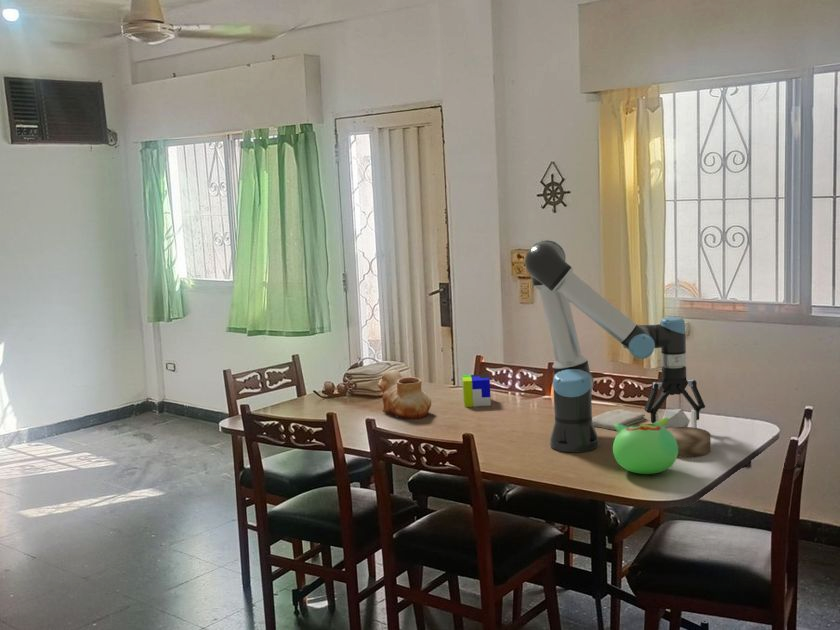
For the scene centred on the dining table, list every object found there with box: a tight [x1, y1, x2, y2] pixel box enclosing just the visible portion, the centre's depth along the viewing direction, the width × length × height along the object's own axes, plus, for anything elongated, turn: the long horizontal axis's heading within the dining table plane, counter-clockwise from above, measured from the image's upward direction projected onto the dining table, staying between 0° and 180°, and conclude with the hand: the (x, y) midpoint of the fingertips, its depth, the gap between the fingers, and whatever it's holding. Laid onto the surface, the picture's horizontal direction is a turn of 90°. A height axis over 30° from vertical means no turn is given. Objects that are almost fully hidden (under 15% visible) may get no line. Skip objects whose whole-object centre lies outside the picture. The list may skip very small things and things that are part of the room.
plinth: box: [666, 426, 712, 459], centre depth 277 cm, size 15×15×5 cm
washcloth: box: [592, 408, 646, 431], centre depth 311 cm, size 12×18×3 cm, turn 134°
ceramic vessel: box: [377, 369, 432, 420], centre depth 342 cm, size 14×26×15 cm, turn 33°
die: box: [661, 408, 691, 429], centre depth 294 cm, size 8×9×10 cm
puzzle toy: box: [461, 373, 492, 408], centre depth 349 cm, size 10×10×10 cm
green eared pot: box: [612, 417, 678, 475], centre depth 259 cm, size 18×17×15 cm
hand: (675, 431), depth 294 cm, fingers open, 12 cm apart
